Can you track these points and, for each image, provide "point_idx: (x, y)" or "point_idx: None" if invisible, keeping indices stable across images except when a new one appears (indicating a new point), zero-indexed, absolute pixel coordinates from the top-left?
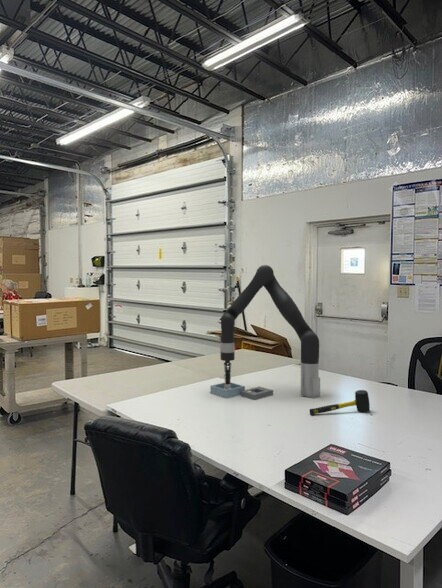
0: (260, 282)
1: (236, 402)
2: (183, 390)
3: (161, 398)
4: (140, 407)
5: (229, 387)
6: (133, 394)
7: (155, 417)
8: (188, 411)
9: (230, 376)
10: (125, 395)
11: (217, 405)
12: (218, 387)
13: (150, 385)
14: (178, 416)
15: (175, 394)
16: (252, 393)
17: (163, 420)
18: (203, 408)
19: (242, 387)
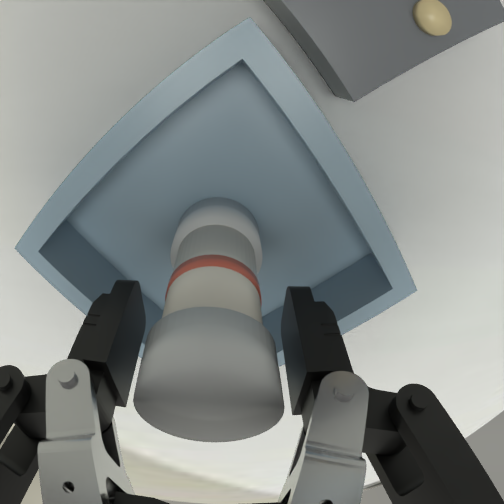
0: None
1: (496, 184)
2: (158, 434)
3: (287, 467)
4: (368, 471)
5: (247, 245)
6: (227, 494)
7: (465, 428)
8: (479, 385)
9: (252, 357)
10: (237, 499)
11: (487, 302)
12: (278, 355)
13: None
14: (495, 393)
15: (233, 451)
16: (464, 5)
17: (494, 409)
18: (484, 351)
19: (280, 59)
